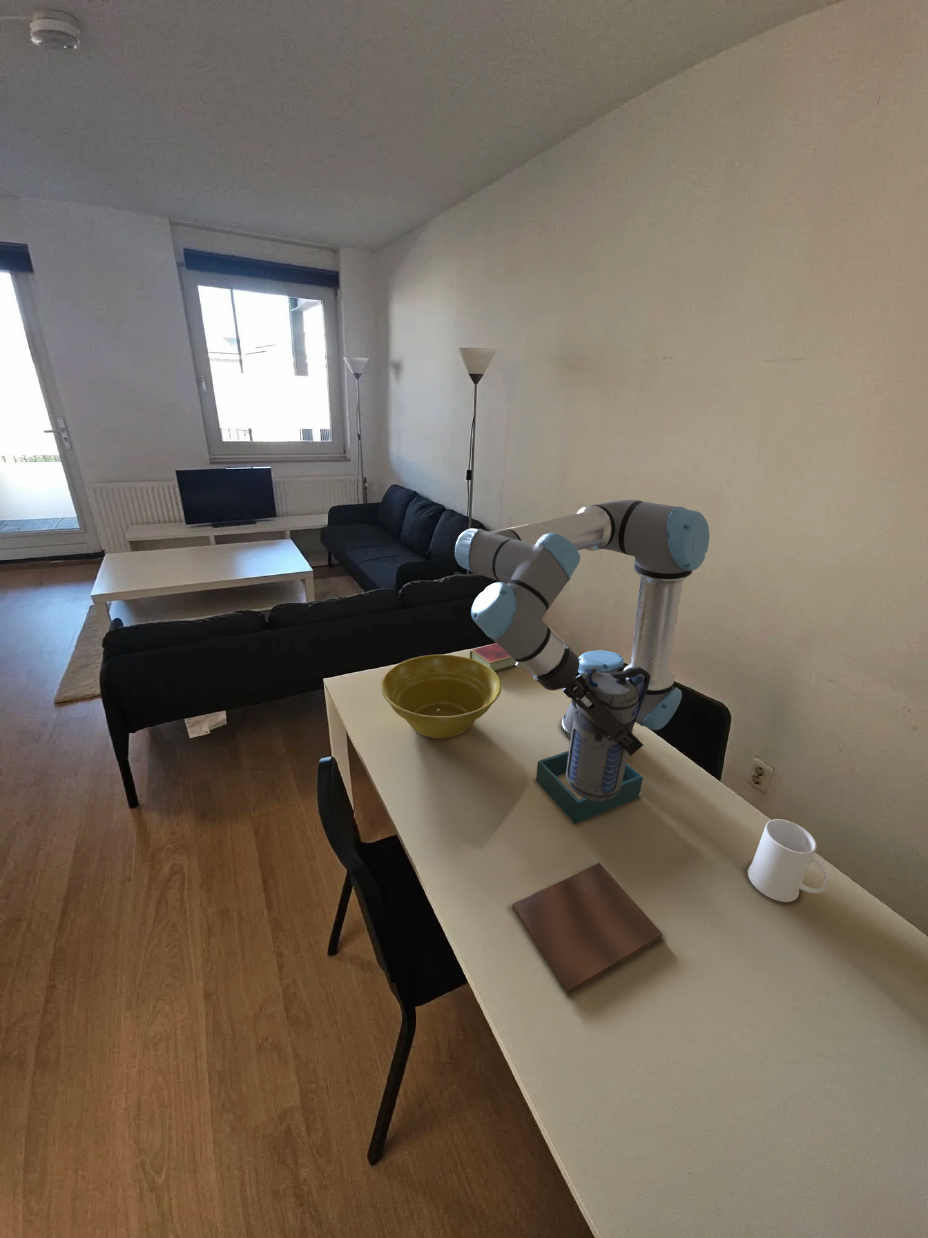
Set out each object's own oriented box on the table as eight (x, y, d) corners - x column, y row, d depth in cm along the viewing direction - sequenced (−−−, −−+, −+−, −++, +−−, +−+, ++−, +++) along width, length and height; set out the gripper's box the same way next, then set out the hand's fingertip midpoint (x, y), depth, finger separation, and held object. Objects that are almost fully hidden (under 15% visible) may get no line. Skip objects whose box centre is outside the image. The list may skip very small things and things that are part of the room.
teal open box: (596, 759, 128) (600, 730, 125) (639, 797, 116) (645, 767, 113) (535, 781, 120) (538, 751, 117) (575, 824, 108) (579, 792, 105)
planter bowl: (458, 779, 120) (459, 732, 115) (357, 733, 136) (354, 690, 130) (518, 715, 145) (521, 674, 140) (427, 682, 161) (427, 644, 155)
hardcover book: (469, 659, 176) (469, 648, 174) (517, 646, 186) (517, 636, 185) (489, 673, 166) (490, 662, 165) (538, 658, 177) (539, 648, 175)
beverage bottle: (642, 797, 92) (669, 677, 83) (577, 810, 89) (597, 687, 79) (612, 762, 101) (633, 650, 92) (552, 772, 98) (567, 657, 88)
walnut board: (598, 867, 99) (599, 862, 98) (662, 939, 86) (663, 934, 85) (511, 908, 90) (512, 904, 90) (567, 995, 77) (568, 990, 77)
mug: (826, 904, 93) (848, 856, 88) (800, 925, 89) (821, 877, 84) (764, 857, 102) (780, 811, 97) (738, 874, 98) (754, 828, 93)
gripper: (510, 643, 92) (579, 709, 102) (556, 713, 72) (637, 787, 81) (540, 615, 91) (607, 684, 101) (595, 678, 71) (673, 757, 80)
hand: (621, 730), depth 91 cm, fingers closed on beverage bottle, 10 cm apart
